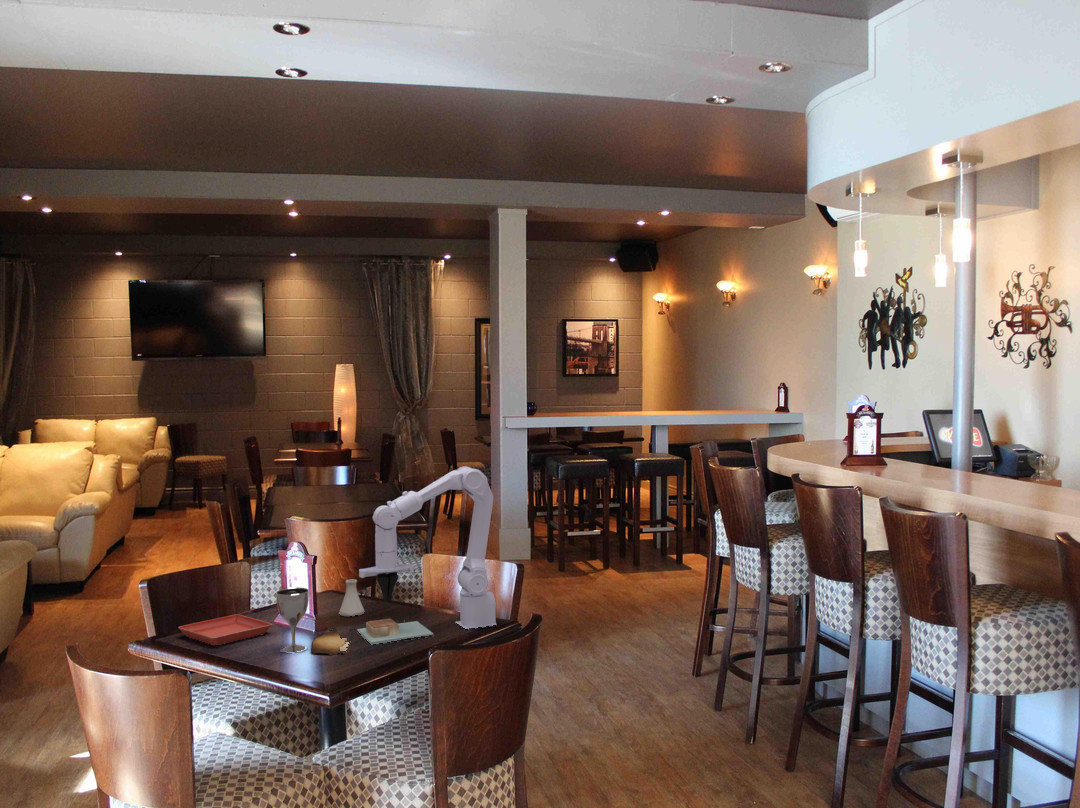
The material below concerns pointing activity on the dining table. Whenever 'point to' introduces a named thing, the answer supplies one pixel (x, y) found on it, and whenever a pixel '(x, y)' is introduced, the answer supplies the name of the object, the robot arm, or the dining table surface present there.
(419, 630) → the mat
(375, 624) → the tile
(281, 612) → the wine glass
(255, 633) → the plant saucer
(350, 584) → the flask
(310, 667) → the dining table surface
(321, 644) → the parchment
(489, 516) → the robot arm
